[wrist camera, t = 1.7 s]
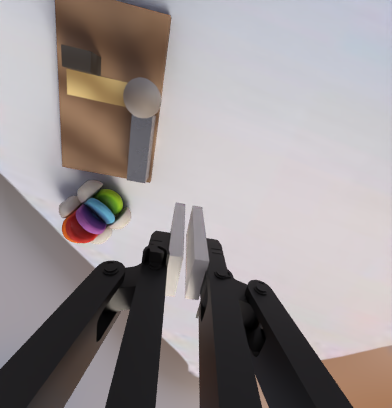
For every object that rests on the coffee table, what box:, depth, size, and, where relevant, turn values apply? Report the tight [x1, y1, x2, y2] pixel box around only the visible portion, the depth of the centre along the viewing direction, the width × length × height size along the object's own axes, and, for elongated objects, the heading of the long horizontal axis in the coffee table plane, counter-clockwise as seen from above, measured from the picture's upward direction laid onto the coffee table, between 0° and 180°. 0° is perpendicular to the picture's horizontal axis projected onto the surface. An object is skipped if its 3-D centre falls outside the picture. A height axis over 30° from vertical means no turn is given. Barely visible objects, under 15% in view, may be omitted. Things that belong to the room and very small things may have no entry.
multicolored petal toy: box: [59, 180, 131, 244], centre depth 31 cm, size 8×10×7 cm
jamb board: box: [55, 0, 171, 183], centre depth 26 cm, size 20×13×5 cm, turn 168°
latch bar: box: [127, 114, 156, 183], centre depth 28 cm, size 8×2×3 cm, turn 168°
